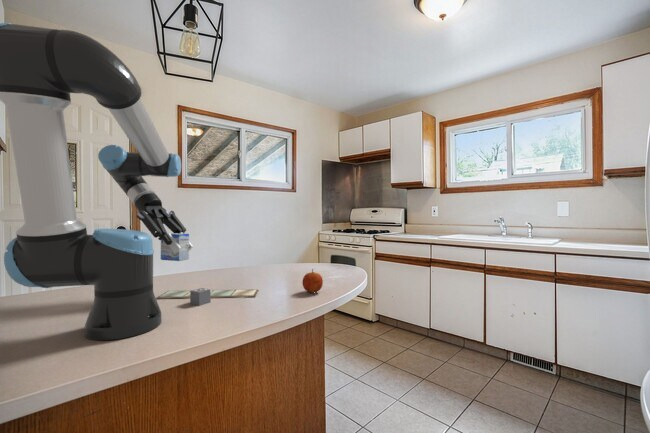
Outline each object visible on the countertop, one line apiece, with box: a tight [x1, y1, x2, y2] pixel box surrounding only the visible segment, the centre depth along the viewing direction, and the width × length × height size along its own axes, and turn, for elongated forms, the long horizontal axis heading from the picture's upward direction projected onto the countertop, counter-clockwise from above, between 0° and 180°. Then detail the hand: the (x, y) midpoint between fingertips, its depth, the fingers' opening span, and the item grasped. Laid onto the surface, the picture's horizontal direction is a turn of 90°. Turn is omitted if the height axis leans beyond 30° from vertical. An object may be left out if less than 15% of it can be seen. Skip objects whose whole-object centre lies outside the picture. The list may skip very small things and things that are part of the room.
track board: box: [155, 288, 260, 300], centre depth 100 cm, size 31×9×1 cm, turn 94°
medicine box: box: [160, 232, 190, 262], centre depth 99 cm, size 8×4×9 cm, turn 72°
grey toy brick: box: [189, 287, 212, 307], centre depth 91 cm, size 4×4×4 cm
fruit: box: [301, 268, 324, 294], centre depth 102 cm, size 7×7×8 cm
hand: (184, 249), depth 98 cm, fingers closed on medicine box, 4 cm apart
